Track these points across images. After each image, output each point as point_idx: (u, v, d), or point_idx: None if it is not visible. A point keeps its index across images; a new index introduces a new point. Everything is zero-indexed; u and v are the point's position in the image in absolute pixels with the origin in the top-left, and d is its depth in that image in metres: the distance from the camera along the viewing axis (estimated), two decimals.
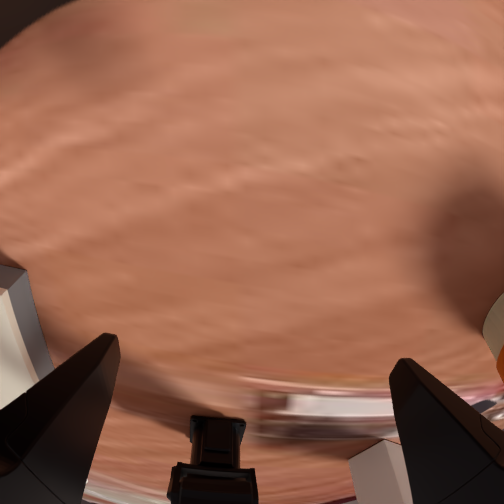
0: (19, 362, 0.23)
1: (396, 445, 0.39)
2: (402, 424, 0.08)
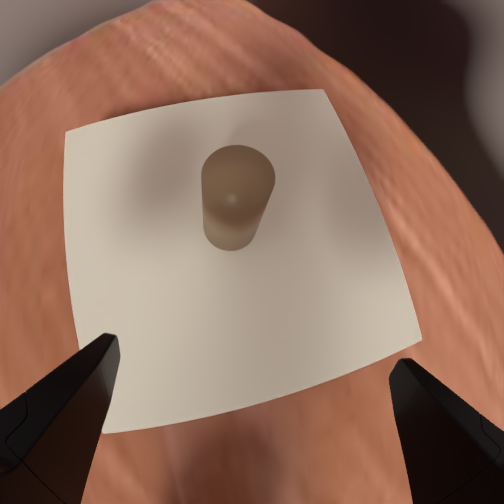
0: (313, 372, 0.17)
1: None
2: (402, 424, 0.08)
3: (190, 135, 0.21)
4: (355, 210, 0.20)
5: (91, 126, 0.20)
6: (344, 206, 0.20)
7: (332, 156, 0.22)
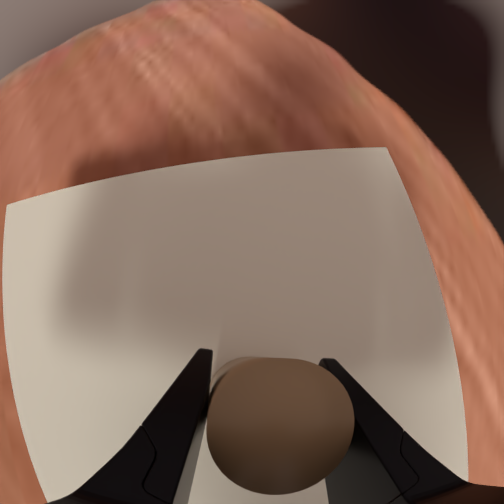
0: None
1: None
2: None
3: (186, 230, 0.13)
4: (425, 352, 0.13)
5: (39, 199, 0.13)
6: (412, 349, 0.13)
7: (401, 267, 0.14)
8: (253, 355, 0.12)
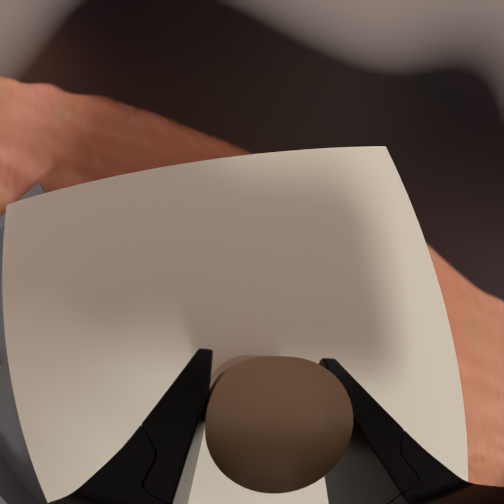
0: None
1: None
2: None
3: (186, 229, 0.13)
4: (424, 351, 0.13)
5: (39, 199, 0.13)
6: (412, 348, 0.13)
7: (401, 266, 0.14)
8: (252, 354, 0.12)
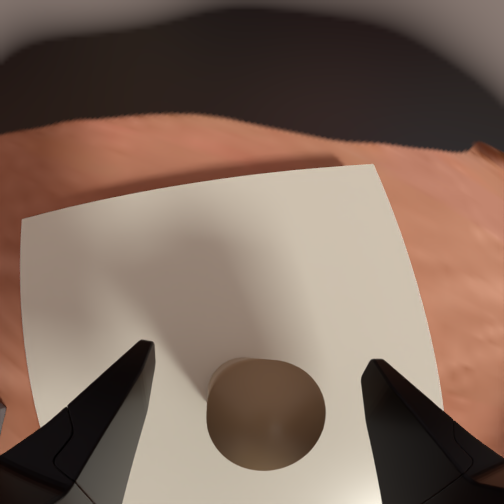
0: None
1: None
2: (372, 428, 0.08)
3: (188, 245, 0.15)
4: (405, 355, 0.14)
5: (53, 215, 0.14)
6: (392, 352, 0.14)
7: (383, 278, 0.16)
8: (247, 356, 0.14)
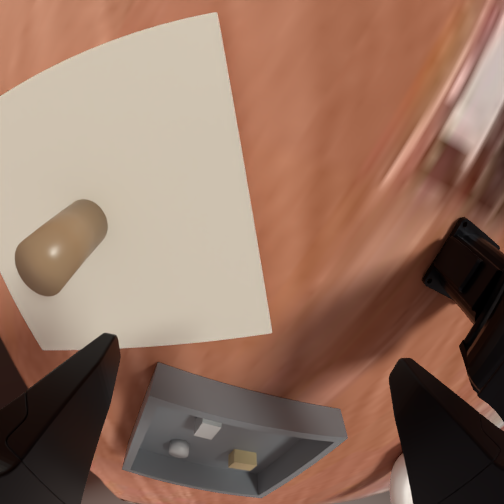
0: (226, 151, 0.17)
1: None
2: (402, 424, 0.08)
3: None
4: (62, 93, 0.14)
5: (33, 331, 0.22)
6: (59, 106, 0.15)
7: (14, 118, 0.15)
8: None
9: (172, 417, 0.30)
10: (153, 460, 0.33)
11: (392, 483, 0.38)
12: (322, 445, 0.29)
